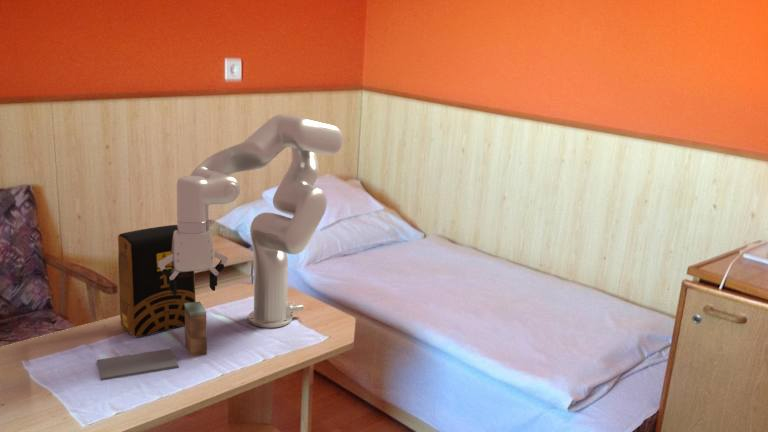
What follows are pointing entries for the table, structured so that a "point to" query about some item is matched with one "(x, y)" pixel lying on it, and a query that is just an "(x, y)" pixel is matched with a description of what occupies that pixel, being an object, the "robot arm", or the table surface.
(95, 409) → the table surface
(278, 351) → the table surface
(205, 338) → the block
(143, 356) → the mat
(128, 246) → the black tall two-tone box
